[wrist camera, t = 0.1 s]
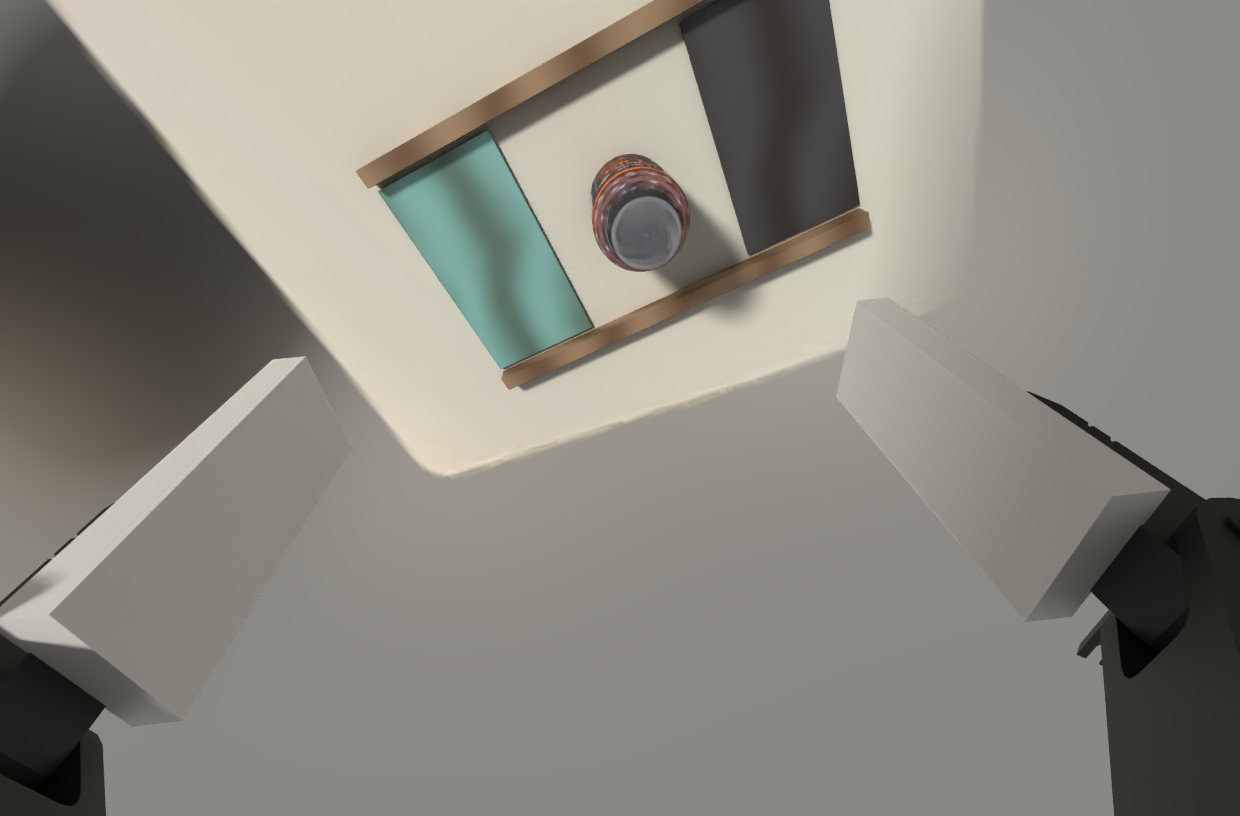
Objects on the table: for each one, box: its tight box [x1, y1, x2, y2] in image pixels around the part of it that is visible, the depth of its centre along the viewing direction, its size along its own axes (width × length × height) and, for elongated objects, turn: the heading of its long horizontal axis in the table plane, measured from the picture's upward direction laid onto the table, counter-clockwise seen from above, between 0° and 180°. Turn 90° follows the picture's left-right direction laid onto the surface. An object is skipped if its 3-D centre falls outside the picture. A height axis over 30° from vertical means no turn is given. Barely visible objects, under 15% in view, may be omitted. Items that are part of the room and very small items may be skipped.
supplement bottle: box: [590, 154, 690, 272], centre depth 31 cm, size 6×6×11 cm
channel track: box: [356, 0, 871, 390], centre depth 35 cm, size 32×19×2 cm, turn 115°
